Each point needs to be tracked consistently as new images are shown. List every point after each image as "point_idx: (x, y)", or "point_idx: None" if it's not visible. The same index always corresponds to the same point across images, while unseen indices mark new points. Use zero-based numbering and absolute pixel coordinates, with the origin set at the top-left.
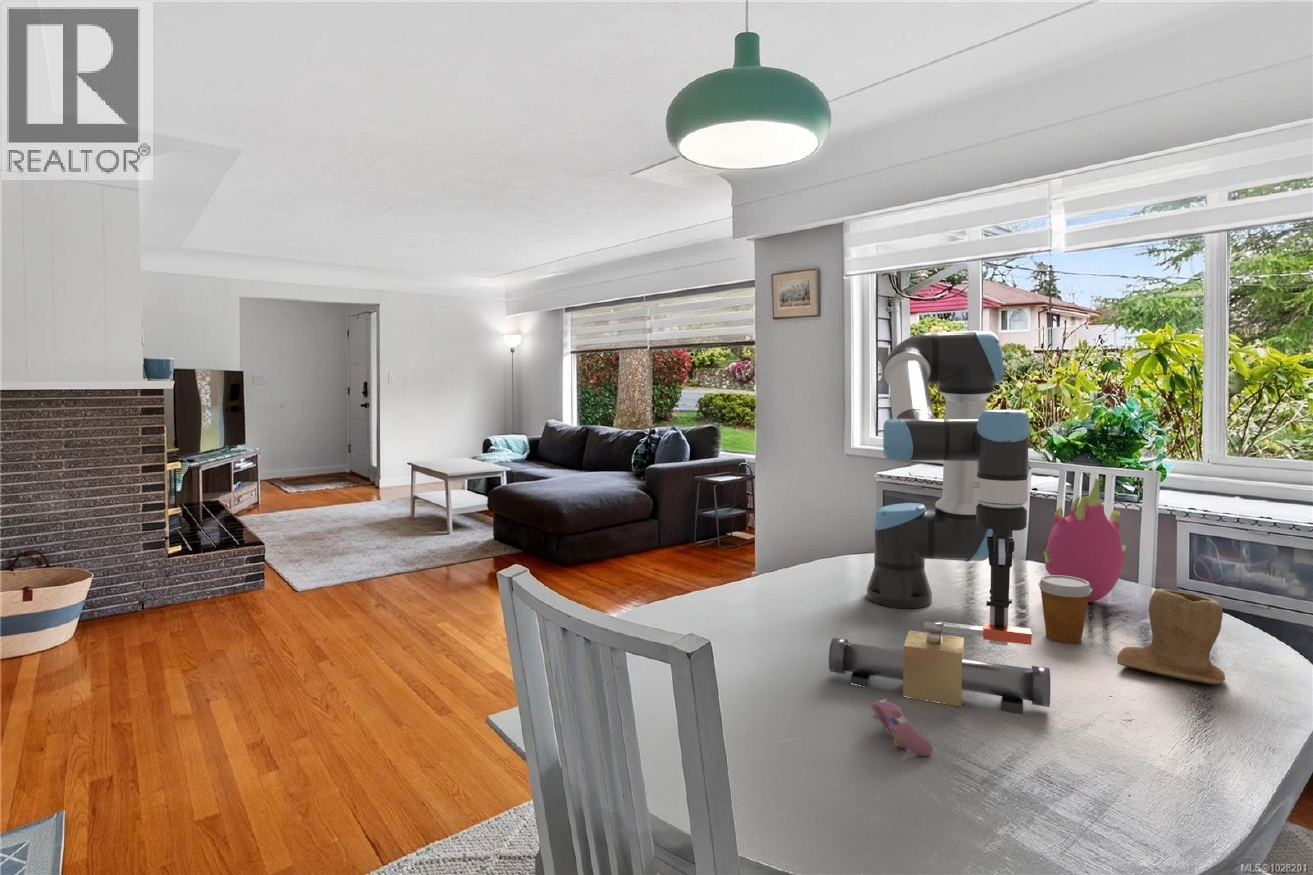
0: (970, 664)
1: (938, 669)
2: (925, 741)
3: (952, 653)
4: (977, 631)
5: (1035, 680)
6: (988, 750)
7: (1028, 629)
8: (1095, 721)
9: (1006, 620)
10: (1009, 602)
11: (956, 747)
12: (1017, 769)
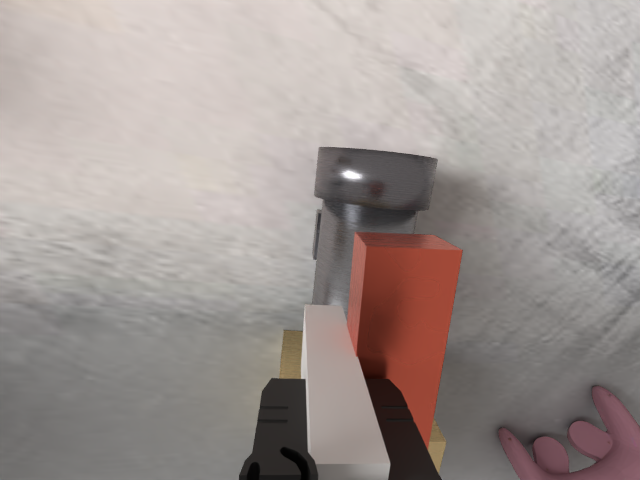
0: None
1: None
2: (628, 412)
3: (439, 462)
4: None
5: (427, 202)
6: (564, 296)
7: (383, 257)
8: (386, 47)
9: (363, 387)
10: (307, 474)
11: (560, 346)
12: (627, 254)
